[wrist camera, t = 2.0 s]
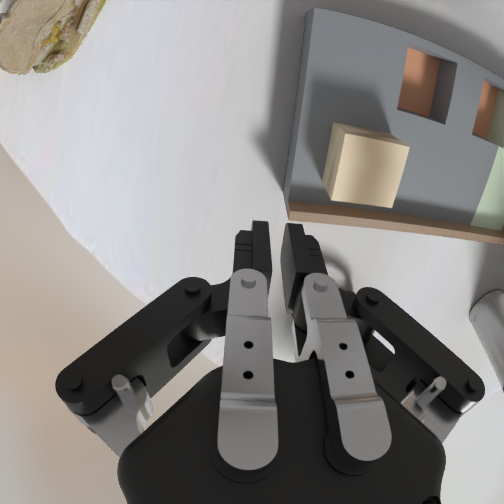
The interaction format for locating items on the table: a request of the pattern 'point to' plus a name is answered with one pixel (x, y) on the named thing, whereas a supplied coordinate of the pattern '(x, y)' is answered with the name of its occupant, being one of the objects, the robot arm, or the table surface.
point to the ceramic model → (44, 33)
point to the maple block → (363, 165)
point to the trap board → (399, 128)
